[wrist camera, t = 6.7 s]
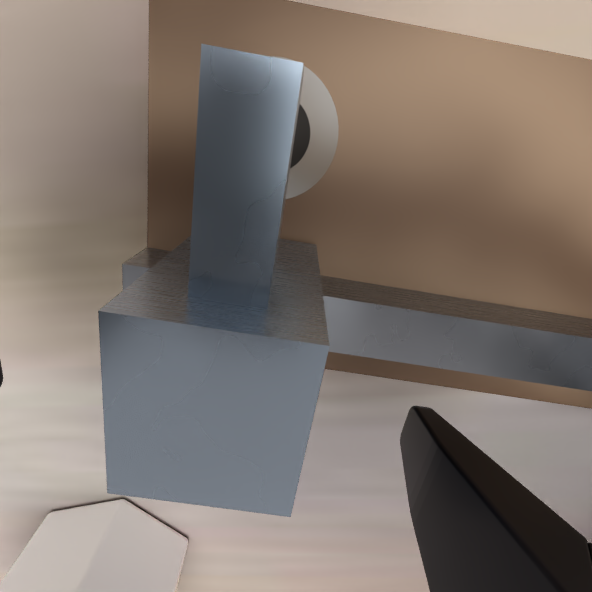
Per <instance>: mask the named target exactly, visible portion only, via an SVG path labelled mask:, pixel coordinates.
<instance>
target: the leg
mask: <svg viewBox="0 0 592 592" xmlns="http://www.w3.org/2000/svg"><path fill="white" fill-rule="evenodd" d="M303 73H304V63H302V62H297V61H291V60H286V59H281V58H275V57H270V56H265V55H259V54H254V53H249V52H243V51H238V50H233V49H227V48H222V47H217V46H211V45H206V44H201V60H200V79H199V98H198V116H197V135H196V154H195V172H194V191H193V210H192V228H191V236H190V237H188V238H187V239H186V240H185V241H183V242H182V243H181V244H180V245H179V246H177V247H176V248H175V249H174V250H172V251H171V252H170V253H169V254H167V255H166V256H165V257H164V258H163V259H161V260H160V261H159V262H158V263H156V264H155V265H154V266H153V267H152V268H150V269H149V270H148V271H147V272H145V273H144V274H143V275H142V276H141V277H139V278H138V279H137V280H136V281H134V282H133V283H132V284H131V285H129V286H128V287H127V288H126V289H125V290H123V291H122V292H121V293H120V294H118V295H117V296H116V297H115V298H114V299H112V300H111V301H110V302H109V303H107V304H106V305H105V306H104V307H102V308H101V309H100V310H99V311H98V313H99V333H100V353H101V373H102V393H103V413H104V433H105V453H106V473H107V493H110V494H118V495H126V496H133V497H141V498H149V499H156V500H164V501H172V502H179V503H187V504H195V505H203V506H210V507H218V508H226V509H233V510H241V511H249V512H256V513H264V514H272V515H279V516H287V517H291V512H292V508H293V503H294V499H295V495H296V490H297V486H298V482H299V477H300V473H301V469H302V464H303V460H304V455H305V451H306V447H307V442H308V438H309V434H310V429H311V425H312V421H313V416H314V412H315V407H316V403H317V399H318V394H319V390H320V386H321V381H322V377H323V373H324V368H325V364H326V359H327V355H328V351H329V338H328V330H327V323H326V315H325V307H324V300H323V292H322V284H321V277H320V269H319V261H318V253H317V246H316V244H310V243H304V242H298V241H292V240H286V239H280V232H281V225H282V219H283V212H284V205H285V199H286V192H287V185H288V178H289V172H290V165H291V158H292V152H293V145H294V138H295V131H296V125H297V118H298V111H299V105H300V98H301V91H302V84H303Z"/></svg>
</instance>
